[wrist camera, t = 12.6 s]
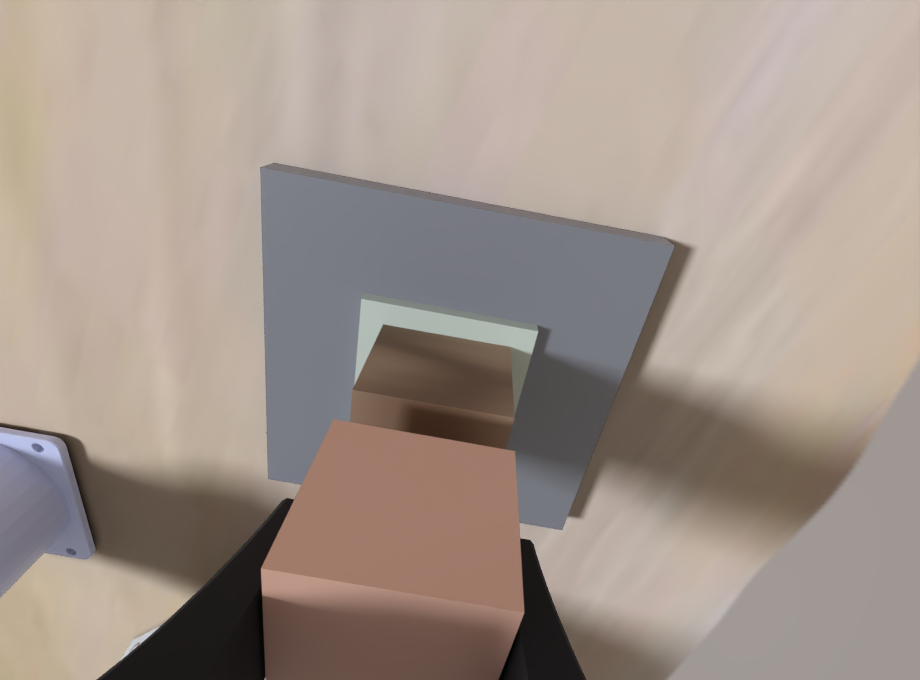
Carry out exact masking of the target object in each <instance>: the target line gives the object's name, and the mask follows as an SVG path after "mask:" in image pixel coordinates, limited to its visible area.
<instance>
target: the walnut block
mask: <svg viewBox="0 0 920 680" xmlns="http://www.w3.org/2000/svg"><path fill="white" fill-rule="evenodd" d="M514 419H515V415H514V399H513V383H512V367H511V350H510V347H508V346H503V345H497V344H491V343H486V342H480V341H474V340H469V339H463V338H458V337H452V336H446V335H441V334H435V333H429V332H424V331H418V330H413V329H407V328H401V327H396V326H390V325H384V324H383V326H382V328H381V330H380V332H379V334H378V336H377V338H376V341H375V343H374V345H373V347H372V349H371V351H370V353H369V355H368V358H367V360H366V362H365V364H364V366H363V368H362V370H361V372H360V374H359V377H358V379H357V381H356V383H355V385H354V387H353V389H352V400H351V415H350V422H352V423H358V424H363V425H369V426H375V427H380V428H386V429H392V430H398V431H403V432H409V433H415V434H420V435H426V436H432V437H437V438H443V439H449V440H454V441H460V442H466V443H472V444H477V445H483V446H489V447H494V448H500V449H506V448H507V444H508V441H509V437H510V433H511V430H512V426H513V422H514Z"/></svg>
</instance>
